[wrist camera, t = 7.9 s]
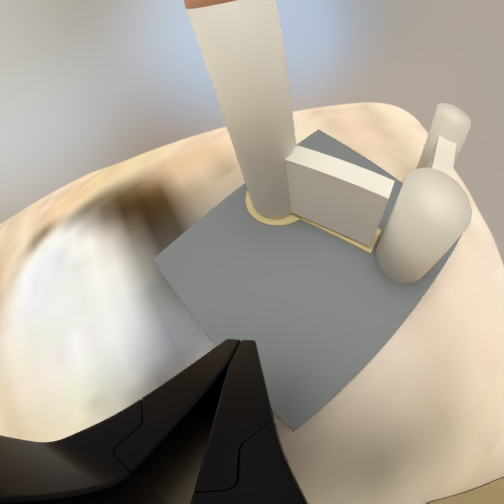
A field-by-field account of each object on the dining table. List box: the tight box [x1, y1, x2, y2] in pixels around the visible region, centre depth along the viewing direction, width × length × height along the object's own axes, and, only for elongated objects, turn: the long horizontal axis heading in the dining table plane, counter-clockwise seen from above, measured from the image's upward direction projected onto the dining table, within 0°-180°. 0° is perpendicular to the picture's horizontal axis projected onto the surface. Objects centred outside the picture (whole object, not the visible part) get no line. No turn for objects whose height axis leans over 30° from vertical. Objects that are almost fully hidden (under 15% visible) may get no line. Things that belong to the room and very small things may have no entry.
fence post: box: [184, 0, 395, 247], centre depth 10 cm, size 8×3×15 cm, turn 58°
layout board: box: [153, 130, 463, 431], centre depth 17 cm, size 16×14×1 cm
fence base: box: [376, 103, 472, 285], centre depth 13 cm, size 10×4×8 cm, turn 146°
